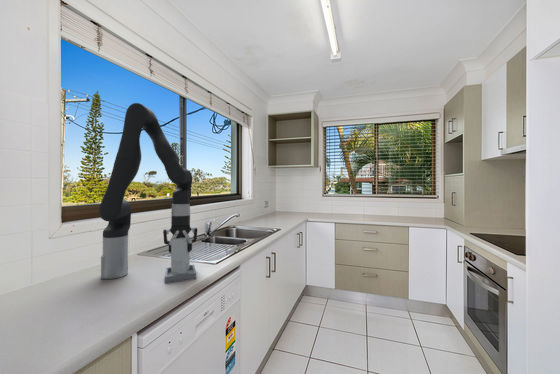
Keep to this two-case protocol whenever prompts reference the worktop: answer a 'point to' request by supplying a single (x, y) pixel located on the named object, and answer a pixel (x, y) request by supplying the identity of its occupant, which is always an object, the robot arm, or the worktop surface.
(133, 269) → the worktop surface
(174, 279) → the tray
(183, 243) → the skincare box
